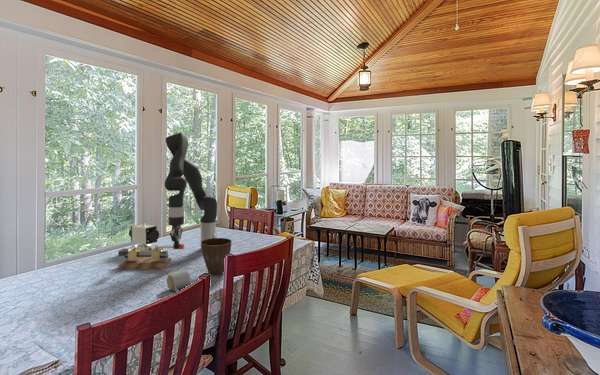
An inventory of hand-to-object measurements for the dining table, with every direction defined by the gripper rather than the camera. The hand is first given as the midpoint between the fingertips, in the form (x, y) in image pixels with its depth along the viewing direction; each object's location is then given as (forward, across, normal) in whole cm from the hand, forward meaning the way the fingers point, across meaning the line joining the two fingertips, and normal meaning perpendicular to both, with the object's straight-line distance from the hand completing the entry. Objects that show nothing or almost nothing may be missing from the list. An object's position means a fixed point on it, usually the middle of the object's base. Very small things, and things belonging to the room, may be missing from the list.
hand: (176, 248), depth 177 cm
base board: (+10, -3, -17) cm, 20 cm away
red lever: (+1, -3, -5) cm, 6 cm away
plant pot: (+10, +9, +23) cm, 26 cm away
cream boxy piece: (+10, -28, -28) cm, 41 cm away
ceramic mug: (+11, +30, +12) cm, 34 cm away
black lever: (+1, +3, -23) cm, 24 cm away
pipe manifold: (+8, -3, -17) cm, 19 cm away
